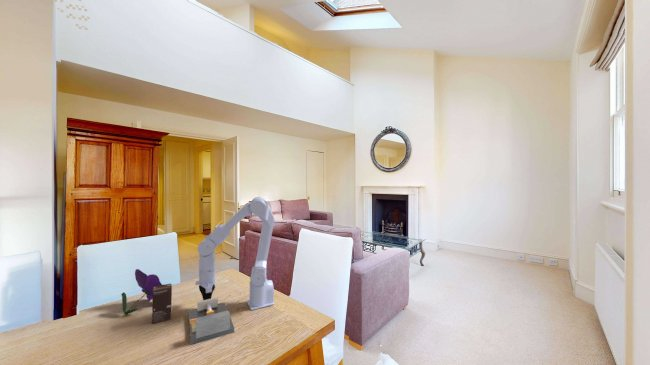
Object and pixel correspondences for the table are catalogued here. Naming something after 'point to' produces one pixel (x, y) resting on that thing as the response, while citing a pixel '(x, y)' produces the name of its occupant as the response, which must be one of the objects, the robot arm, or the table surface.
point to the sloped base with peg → (210, 323)
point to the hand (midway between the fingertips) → (206, 303)
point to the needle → (206, 315)
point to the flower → (145, 284)
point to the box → (161, 303)
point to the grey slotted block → (207, 304)
